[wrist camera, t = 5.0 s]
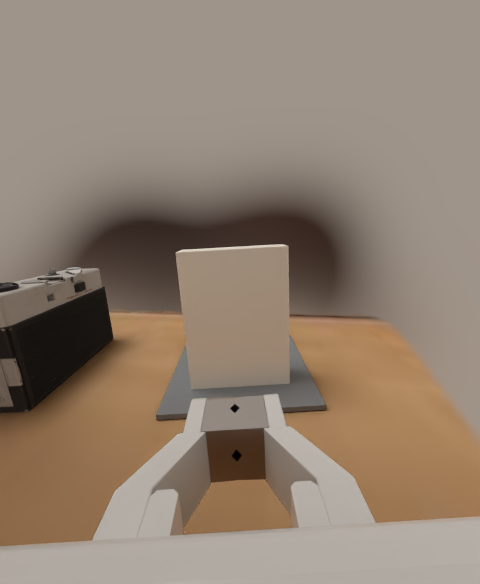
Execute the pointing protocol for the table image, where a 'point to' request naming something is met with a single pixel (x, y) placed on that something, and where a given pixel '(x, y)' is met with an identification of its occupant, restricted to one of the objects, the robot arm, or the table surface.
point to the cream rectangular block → (236, 315)
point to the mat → (243, 390)
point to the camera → (48, 333)
